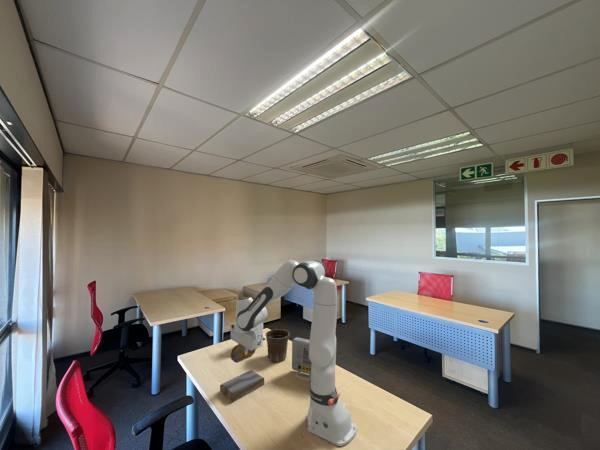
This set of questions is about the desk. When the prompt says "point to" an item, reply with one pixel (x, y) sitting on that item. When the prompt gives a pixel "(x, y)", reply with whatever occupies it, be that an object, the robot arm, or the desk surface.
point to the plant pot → (277, 344)
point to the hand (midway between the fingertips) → (243, 352)
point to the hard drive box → (259, 334)
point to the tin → (240, 353)
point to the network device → (301, 357)
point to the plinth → (241, 385)
